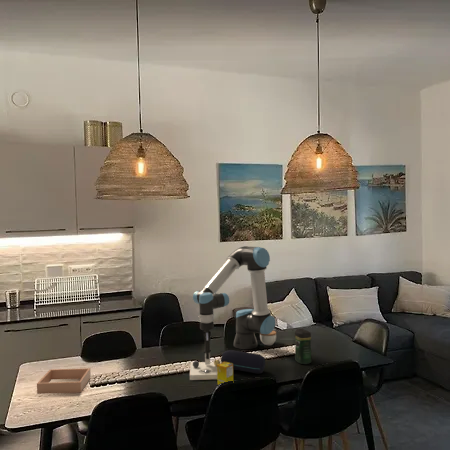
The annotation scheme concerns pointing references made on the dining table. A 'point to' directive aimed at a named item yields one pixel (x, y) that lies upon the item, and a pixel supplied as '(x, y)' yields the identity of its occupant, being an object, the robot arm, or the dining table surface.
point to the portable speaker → (244, 361)
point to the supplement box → (224, 372)
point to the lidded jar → (268, 338)
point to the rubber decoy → (195, 363)
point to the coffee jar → (303, 346)
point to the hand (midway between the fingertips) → (207, 364)
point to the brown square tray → (63, 387)
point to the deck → (199, 374)
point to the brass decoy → (216, 362)
